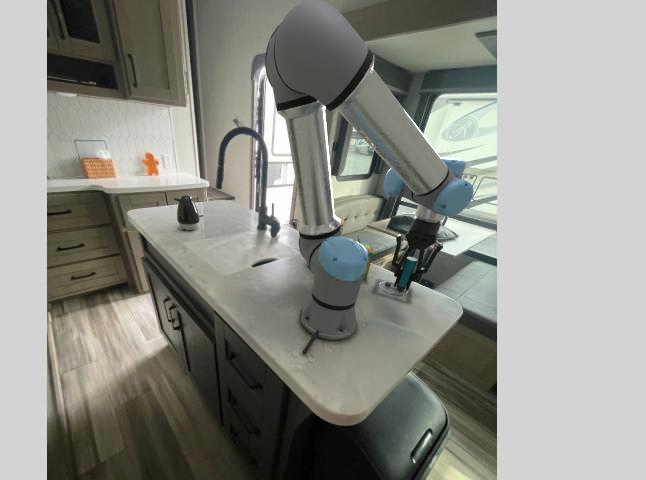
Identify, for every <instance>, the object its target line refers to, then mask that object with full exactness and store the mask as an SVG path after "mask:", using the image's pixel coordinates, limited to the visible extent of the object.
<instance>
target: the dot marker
mask: <svg viewBox="0 0 646 480" xmlns="http://www.w3.org/2000/svg"><path fill="white" fill-rule="evenodd" d="M417 263H418V258H416V257H413V256H408V257H407V258H406V260H405V262H404V263H403V265H402V267H403V270H402V272H401V275H400V278H399V280H398V283H397V285H396V287H395V288H396V290H397V289H399V290H403V291H406V289H405V288H406V287H407V285H408V282H409V280H410V277H411V275H412V273H413V270H415V269H416V266H417Z"/></svg>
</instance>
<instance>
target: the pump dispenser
mask: <svg viewBox="0 0 646 480" xmlns="http://www.w3.org/2000/svg"><path fill="white" fill-rule="evenodd" d="M173 201H176V202H178V204H177V209H176V221H177V223H178V225H179V227H181V228H182V229H183V230H186V231H192V230H195V229H197V228H198V227H199V224H200V221H201V220H200V219H201V218H200V214H199V210H198V207H197V205H196V203H195V201H194V199H193V198H192V196H190V195H188V194H183V195H182V196H181V197H180V198H178V197H173Z"/></svg>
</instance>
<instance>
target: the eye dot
mask: <svg viewBox="0 0 646 480" xmlns="http://www.w3.org/2000/svg"><path fill="white" fill-rule="evenodd" d="M384 286H385V287H388V288H389V287H392V282H384Z"/></svg>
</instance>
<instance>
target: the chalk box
mask: <svg viewBox="0 0 646 480" xmlns="http://www.w3.org/2000/svg"><path fill="white" fill-rule="evenodd" d="M360 240H361V239H360V235H358V234H357V242H358V243H360V244H361V245H362V246H363V247H364V248H365V249H366V251H367V253H368V262H367V268H366V272H365V273H364V276H363V280H362V281H365V282H366V281H367V279H368V275H369V271H370V268H371V265H372V260H373V258H374V257H373V256H374V250H373V248H372V245H371V244H370V243H366V242H365V243H364V242H361V241H360Z"/></svg>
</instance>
